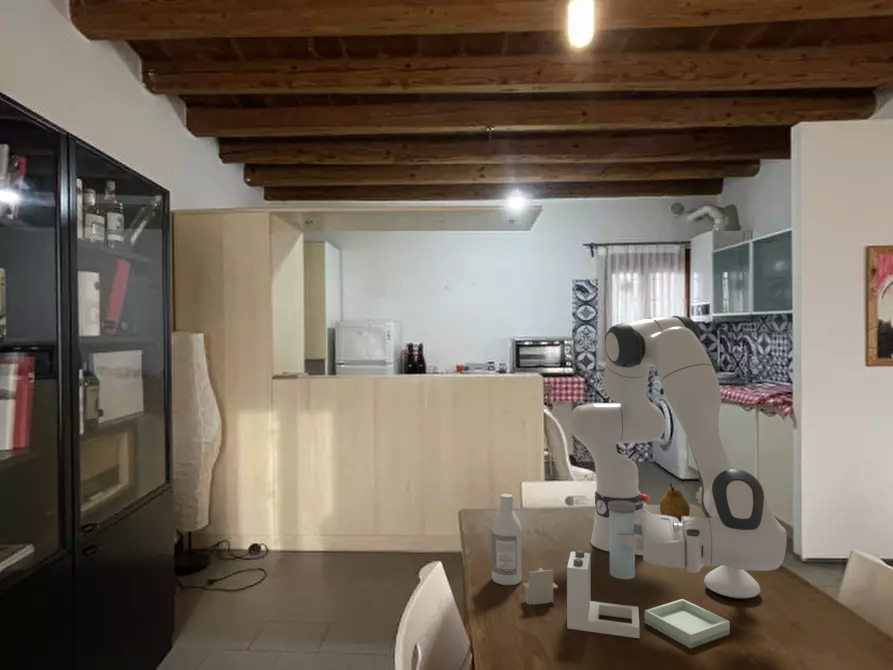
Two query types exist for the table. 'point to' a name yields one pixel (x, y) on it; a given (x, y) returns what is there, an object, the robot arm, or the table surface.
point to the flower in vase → (730, 578)
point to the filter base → (594, 603)
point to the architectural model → (539, 587)
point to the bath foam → (506, 544)
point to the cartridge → (619, 554)
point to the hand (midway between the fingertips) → (617, 533)
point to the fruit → (674, 504)
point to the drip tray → (687, 623)
